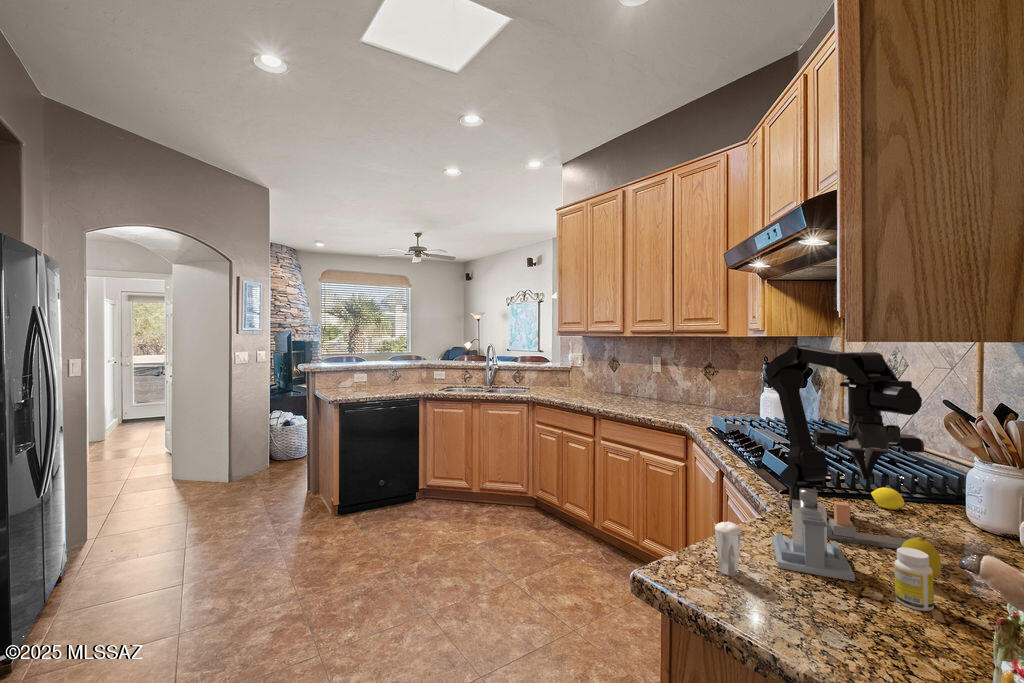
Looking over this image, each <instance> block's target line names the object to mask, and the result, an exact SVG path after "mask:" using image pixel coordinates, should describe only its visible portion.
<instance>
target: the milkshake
mask: <svg viewBox="0 0 1024 683" xmlns="http://www.w3.org/2000/svg"><path fill="white" fill-rule="evenodd" d="M710 517H711V519H712V522H713V524H714V533H715V540H716V550H717V561H718V571H719V573H721V574H722V575H726V576H728V577H734V576H738V573H739V556H740V548H741V547H740V546H741V540H742V537H741V536H742V530H741V528H740V527H739V526H738V524H736V523H734V522H731V521H721V522H719V523H716V522H715V520H714V516H713V515H712V514H710Z"/></svg>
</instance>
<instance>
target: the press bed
mask: <svg viewBox="0 0 1024 683" xmlns="http://www.w3.org/2000/svg"><path fill="white" fill-rule="evenodd" d="M801 520H802V522H803V530H804V553H798V552H793V538H788V537H784V536H783V533H782V532H776V536H775V535H772V536H771V543H772V547H773V551H774V552H773V553H774V557H775V560H776V565H777V569H780V570H781V569H783V570H787V571H788V570H789V571H794V572H800V573H805V574H810V575H817V576H822V577H827V578H833V579H838V580H839V579H840V580H844V581H852V582H855V581H856V577H855V576H856V575H855V572H854V571H853V569H852V567H851V565H850V563H849V562H848V560H847V558H846V557H845V555H844V553H843V551H842V549H841V548H840V545H839V544H838V542H837V540H829V542H830V544H828V543H827V557H825V549H824V527H826V521H825V520H824V518H821V517H813V516H806V515H801Z"/></svg>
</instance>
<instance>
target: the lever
mask: <svg viewBox="0 0 1024 683" xmlns="http://www.w3.org/2000/svg"><path fill="white" fill-rule="evenodd" d="M833 513H834V514H833V515H834V517H833V518H829V519H828V521H829V522H828V524H829V526H830V528H831V529H832V533H833V535H840V536H847V537H854V538H856V532H857V529H856V528H857V527H855V525H854V524H853V523H852V521H851V506H850V504H849V503H848V502H846V501H845V502H844V501H838V500H837V501H836V500H834V501H833Z"/></svg>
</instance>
